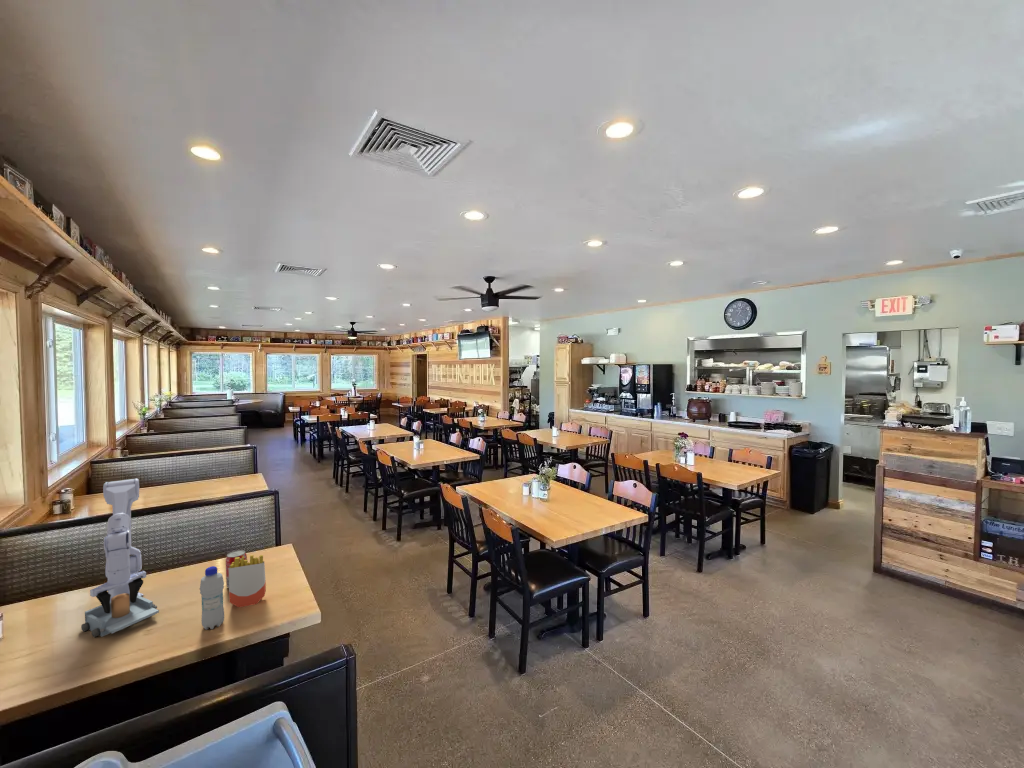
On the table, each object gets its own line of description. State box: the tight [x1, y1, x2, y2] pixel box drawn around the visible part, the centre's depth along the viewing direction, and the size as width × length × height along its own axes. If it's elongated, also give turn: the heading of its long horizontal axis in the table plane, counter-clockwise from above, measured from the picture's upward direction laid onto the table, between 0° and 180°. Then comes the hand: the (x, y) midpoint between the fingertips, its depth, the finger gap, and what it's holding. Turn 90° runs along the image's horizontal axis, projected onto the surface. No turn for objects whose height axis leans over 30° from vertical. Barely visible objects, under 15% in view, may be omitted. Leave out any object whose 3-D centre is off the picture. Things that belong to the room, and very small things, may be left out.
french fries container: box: [228, 554, 267, 608], centre depth 159 cm, size 5×11×18 cm, turn 113°
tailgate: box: [106, 608, 160, 634], centre depth 144 cm, size 1×13×4 cm
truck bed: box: [80, 594, 158, 638], centre depth 147 cm, size 12×17×6 cm
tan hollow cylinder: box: [111, 593, 130, 618], centre depth 147 cm, size 5×5×7 cm
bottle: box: [199, 565, 225, 630], centre depth 145 cm, size 7×7×20 cm
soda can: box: [225, 549, 248, 589], centre depth 171 cm, size 7×7×13 cm
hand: (120, 607), depth 147 cm, fingers open, 6 cm apart
